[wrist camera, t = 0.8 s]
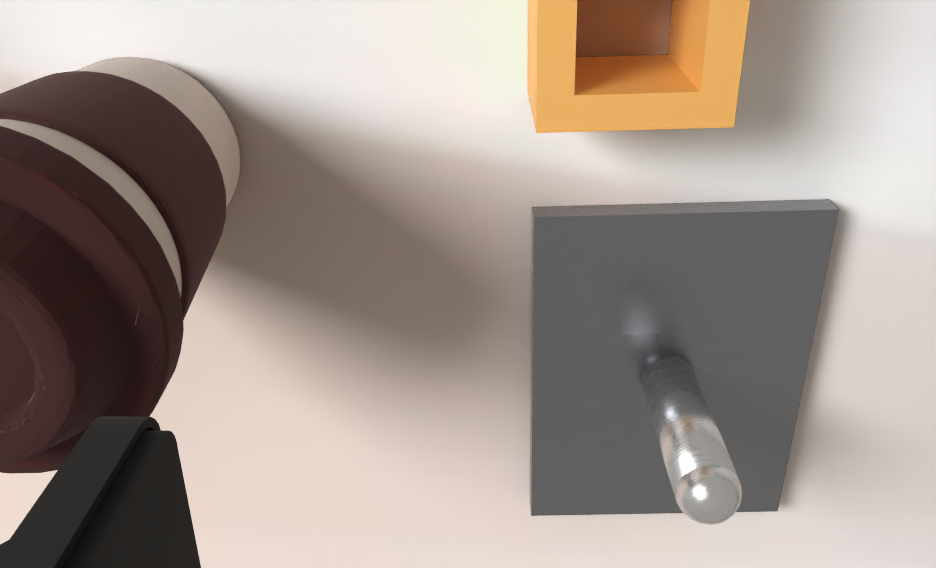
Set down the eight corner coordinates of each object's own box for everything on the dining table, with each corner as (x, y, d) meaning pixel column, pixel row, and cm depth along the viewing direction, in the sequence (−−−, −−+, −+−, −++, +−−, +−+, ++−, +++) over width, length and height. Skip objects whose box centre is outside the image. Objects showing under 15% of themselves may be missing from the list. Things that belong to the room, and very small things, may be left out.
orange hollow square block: (528, -95, 28) (538, -82, 24) (716, -101, 28) (762, -89, 24) (527, 90, 31) (536, 132, 27) (697, 85, 31) (733, 127, 27)
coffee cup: (244, 1, 30) (60, 136, 17) (301, 246, 34) (193, 502, 21) (-19, 32, 30) (-398, 186, 17) (72, 269, 35) (-170, 532, 22)
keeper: (532, 206, 33) (550, 326, 25) (829, 199, 33) (943, 316, 25) (530, 501, 41) (543, 664, 33) (771, 496, 41) (843, 659, 33)
